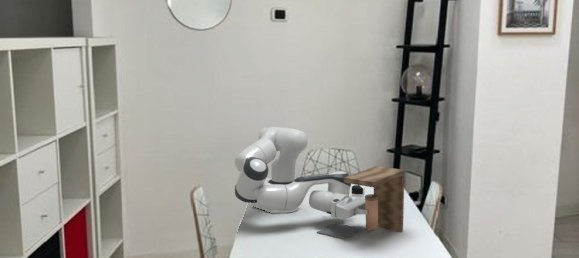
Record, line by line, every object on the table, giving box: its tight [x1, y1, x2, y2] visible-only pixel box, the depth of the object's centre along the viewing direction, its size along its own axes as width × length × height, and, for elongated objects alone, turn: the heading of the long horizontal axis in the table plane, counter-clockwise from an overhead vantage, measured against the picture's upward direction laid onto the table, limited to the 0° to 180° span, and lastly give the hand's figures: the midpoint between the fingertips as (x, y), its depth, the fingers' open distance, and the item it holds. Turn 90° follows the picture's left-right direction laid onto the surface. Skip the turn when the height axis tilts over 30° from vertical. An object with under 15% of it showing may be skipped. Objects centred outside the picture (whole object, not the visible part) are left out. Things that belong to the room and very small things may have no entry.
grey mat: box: [316, 222, 363, 240], centre depth 238 cm, size 13×15×1 cm
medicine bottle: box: [349, 184, 366, 199], centre depth 266 cm, size 7×7×12 cm
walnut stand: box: [344, 165, 405, 233], centre depth 230 cm, size 13×26×26 cm, turn 143°
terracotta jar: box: [364, 193, 379, 231], centre depth 230 cm, size 5×5×13 cm
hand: (371, 210), depth 230 cm, fingers closed on terracotta jar, 5 cm apart
